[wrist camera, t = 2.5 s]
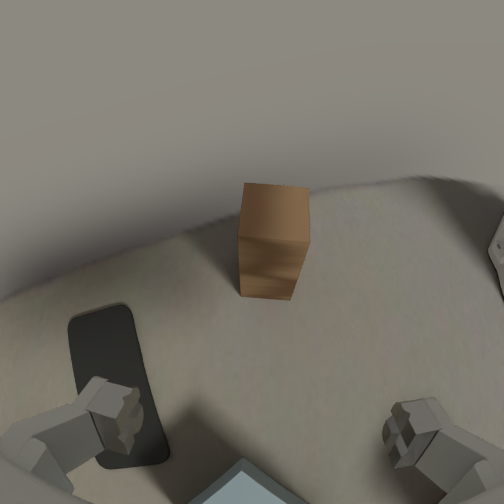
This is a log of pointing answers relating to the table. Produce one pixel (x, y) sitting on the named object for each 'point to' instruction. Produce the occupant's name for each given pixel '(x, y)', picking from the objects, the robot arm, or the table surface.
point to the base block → (245, 488)
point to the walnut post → (272, 239)
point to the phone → (117, 377)
